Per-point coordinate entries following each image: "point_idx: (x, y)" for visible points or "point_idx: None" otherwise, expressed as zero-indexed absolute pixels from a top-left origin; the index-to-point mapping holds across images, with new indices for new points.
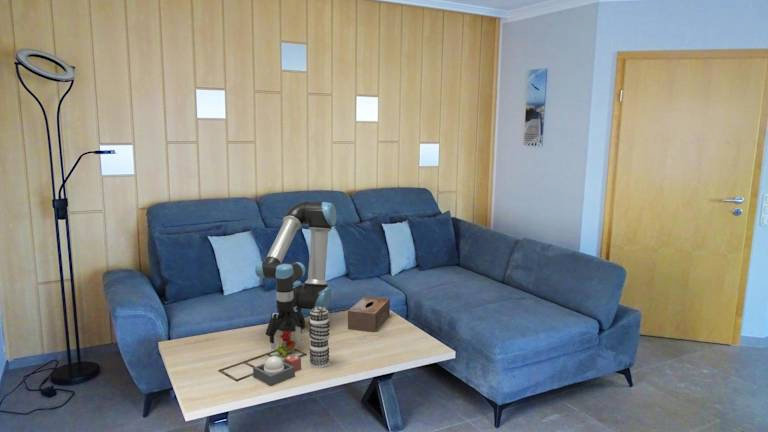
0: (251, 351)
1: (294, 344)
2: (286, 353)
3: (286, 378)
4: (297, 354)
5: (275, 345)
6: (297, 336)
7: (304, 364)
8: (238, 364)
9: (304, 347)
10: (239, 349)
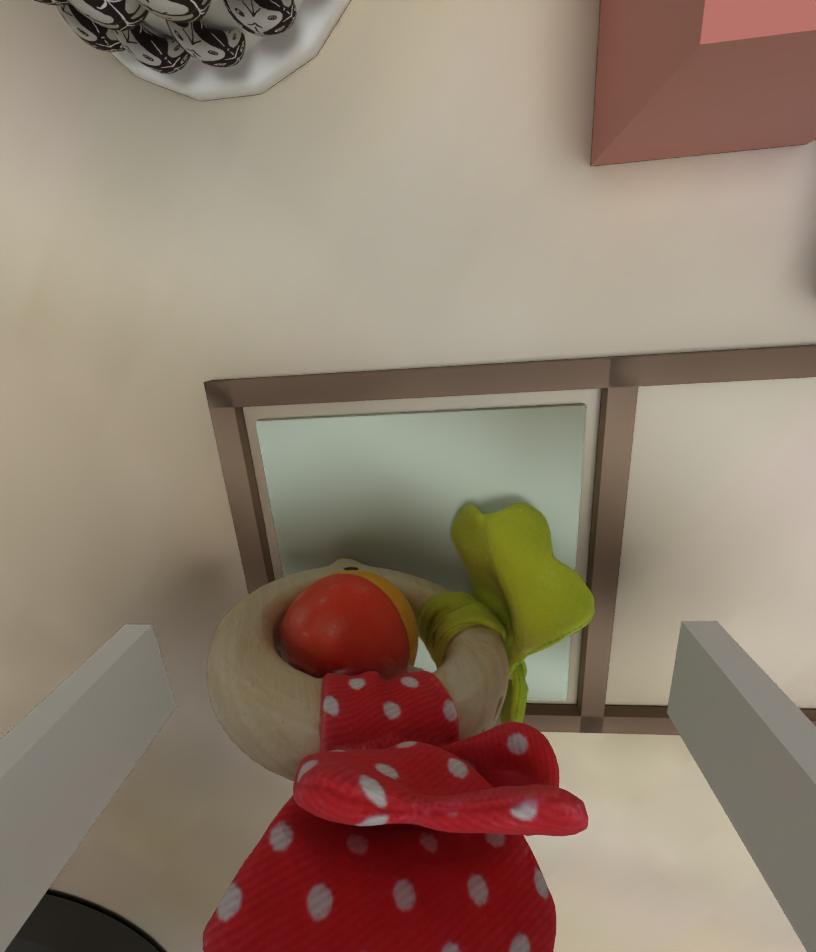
0: (642, 853)
1: (271, 608)
2: None
3: None
4: (318, 464)
5: (773, 699)
6: (109, 738)
7: (428, 69)
8: None
9: (138, 584)
10: (684, 939)
